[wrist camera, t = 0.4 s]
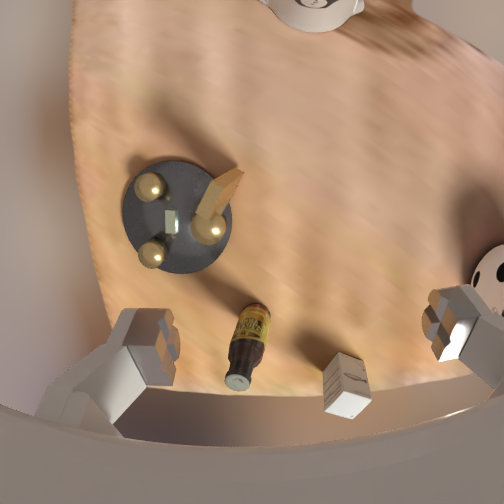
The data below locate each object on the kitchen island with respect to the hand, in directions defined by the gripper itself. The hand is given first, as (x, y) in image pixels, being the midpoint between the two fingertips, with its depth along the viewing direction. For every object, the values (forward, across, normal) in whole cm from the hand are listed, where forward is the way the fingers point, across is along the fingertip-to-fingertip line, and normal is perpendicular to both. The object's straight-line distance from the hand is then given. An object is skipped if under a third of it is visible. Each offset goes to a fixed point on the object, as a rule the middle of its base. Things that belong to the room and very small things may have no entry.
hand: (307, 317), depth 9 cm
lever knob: (+44, +8, +14) cm, 47 cm away
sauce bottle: (+41, +4, +37) cm, 55 cm away
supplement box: (+37, -15, +51) cm, 65 cm away
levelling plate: (+46, +18, +16) cm, 52 cm away
